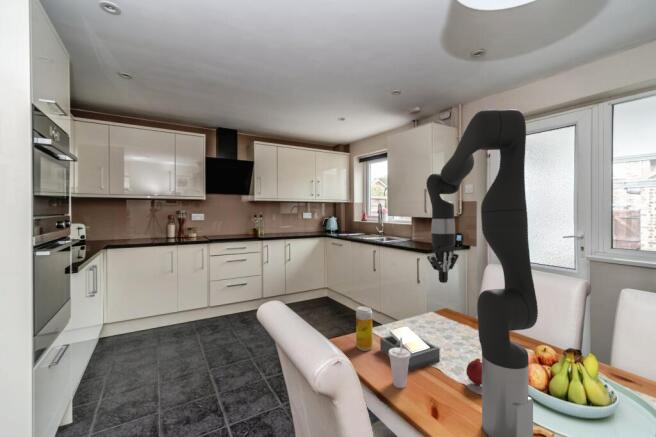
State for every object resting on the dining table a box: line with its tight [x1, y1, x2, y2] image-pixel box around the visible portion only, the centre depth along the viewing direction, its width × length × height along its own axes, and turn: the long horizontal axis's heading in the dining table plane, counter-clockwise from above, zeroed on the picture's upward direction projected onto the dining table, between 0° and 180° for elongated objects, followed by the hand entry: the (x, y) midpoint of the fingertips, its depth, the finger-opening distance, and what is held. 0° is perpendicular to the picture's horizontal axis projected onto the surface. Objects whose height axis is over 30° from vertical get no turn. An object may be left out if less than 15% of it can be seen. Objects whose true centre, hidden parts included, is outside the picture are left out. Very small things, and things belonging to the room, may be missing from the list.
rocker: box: [389, 326, 430, 355], centre depth 104 cm, size 12×10×2 cm
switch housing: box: [379, 334, 441, 372], centre depth 104 cm, size 16×13×4 cm
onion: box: [465, 357, 482, 386], centre depth 86 cm, size 6×6×8 cm
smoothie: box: [387, 338, 411, 389], centre depth 86 cm, size 6×6×14 cm
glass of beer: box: [355, 305, 374, 352], centre depth 110 cm, size 6×6×15 cm
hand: (443, 282), depth 100 cm, fingers closed
